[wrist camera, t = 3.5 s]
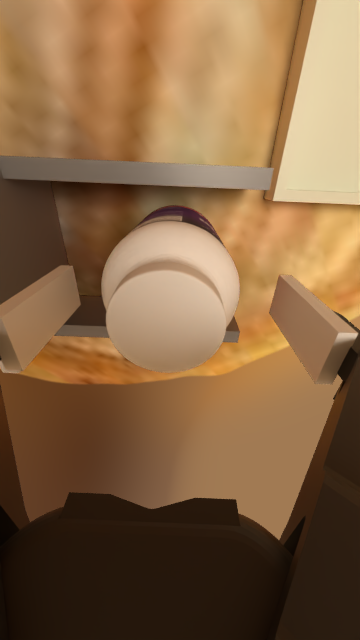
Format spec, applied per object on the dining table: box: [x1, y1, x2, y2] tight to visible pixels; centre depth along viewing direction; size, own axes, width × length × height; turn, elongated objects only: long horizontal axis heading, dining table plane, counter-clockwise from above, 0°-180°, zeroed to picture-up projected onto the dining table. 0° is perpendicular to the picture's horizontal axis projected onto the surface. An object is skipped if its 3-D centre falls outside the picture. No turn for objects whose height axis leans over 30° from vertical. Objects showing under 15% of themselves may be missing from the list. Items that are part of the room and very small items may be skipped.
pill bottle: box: [101, 205, 240, 373], centre depth 17 cm, size 8×8×14 cm
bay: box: [0, 156, 274, 373], centre depth 18 cm, size 18×13×11 cm
